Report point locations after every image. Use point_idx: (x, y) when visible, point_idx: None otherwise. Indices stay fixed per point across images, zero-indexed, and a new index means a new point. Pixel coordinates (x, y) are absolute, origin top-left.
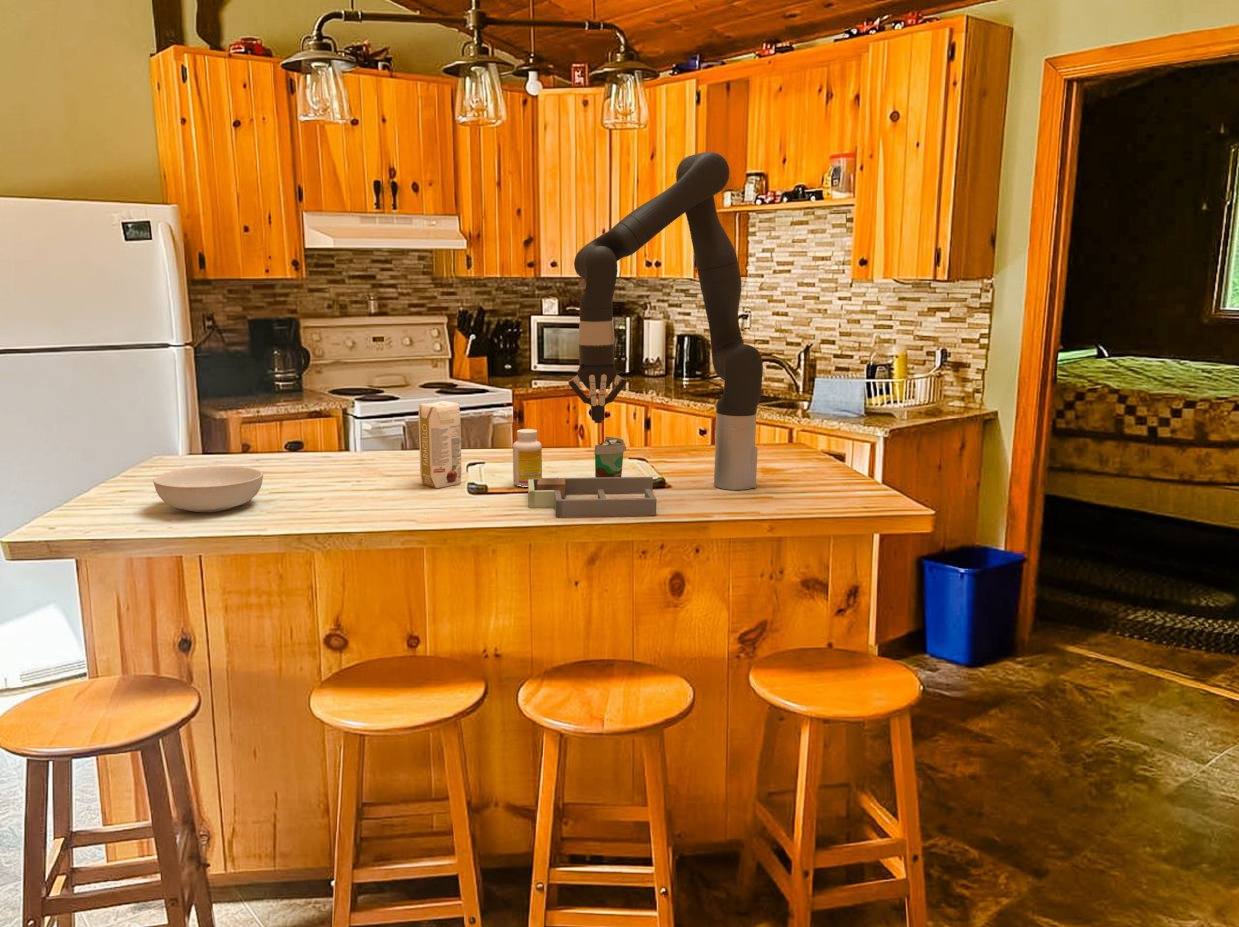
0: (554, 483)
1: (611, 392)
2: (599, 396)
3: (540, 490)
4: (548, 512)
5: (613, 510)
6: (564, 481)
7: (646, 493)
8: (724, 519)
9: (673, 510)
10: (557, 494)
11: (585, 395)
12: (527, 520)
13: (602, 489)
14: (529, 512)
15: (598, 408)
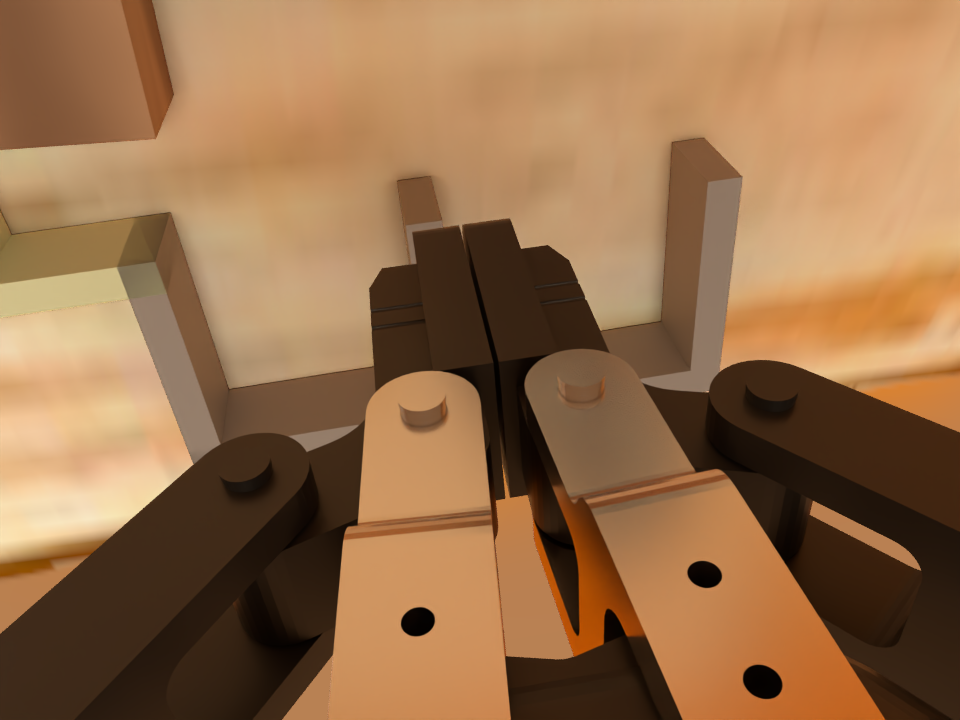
0: (62, 112)
1: (876, 515)
2: (568, 631)
3: (23, 285)
4: (140, 339)
5: None
6: (124, 39)
7: (697, 244)
8: (955, 358)
9: (793, 242)
10: (170, 364)
11: (261, 572)
12: (79, 470)
13: (438, 223)
14: (32, 350)
15: (506, 475)
